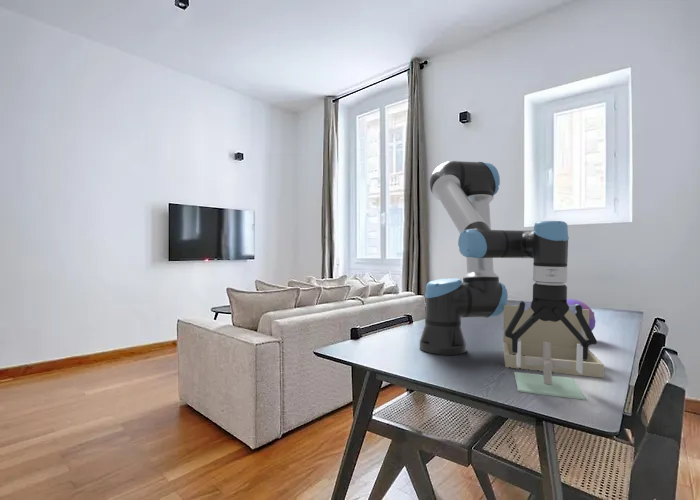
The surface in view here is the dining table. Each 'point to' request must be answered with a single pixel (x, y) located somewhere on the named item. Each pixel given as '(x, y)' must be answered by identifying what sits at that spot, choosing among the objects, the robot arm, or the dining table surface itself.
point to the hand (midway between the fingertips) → (548, 368)
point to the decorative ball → (584, 306)
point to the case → (556, 335)
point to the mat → (548, 386)
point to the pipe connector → (547, 362)
